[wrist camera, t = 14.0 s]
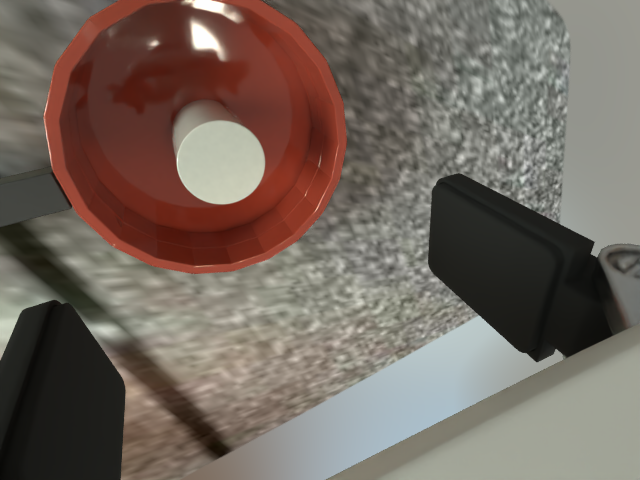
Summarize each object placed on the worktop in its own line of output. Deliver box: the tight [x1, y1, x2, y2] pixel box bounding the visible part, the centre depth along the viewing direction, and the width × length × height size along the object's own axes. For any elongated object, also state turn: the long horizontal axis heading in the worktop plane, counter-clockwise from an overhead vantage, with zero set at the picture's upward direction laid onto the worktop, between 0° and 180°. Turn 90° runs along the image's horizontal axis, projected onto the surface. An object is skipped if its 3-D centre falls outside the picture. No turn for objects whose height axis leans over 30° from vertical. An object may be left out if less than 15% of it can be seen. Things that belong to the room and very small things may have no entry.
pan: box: [43, 0, 347, 274], centre depth 22 cm, size 15×15×5 cm
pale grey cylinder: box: [171, 100, 265, 204], centre depth 21 cm, size 4×4×6 cm
